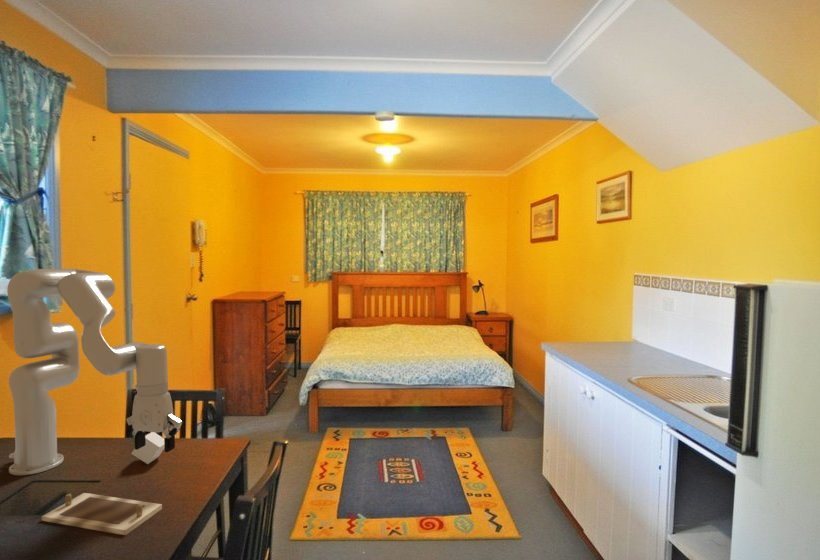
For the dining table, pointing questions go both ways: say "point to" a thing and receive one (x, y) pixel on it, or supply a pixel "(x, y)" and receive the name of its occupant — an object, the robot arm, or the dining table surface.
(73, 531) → the dining table surface
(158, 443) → the white cube
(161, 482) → the dining table surface
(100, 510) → the serving tray
